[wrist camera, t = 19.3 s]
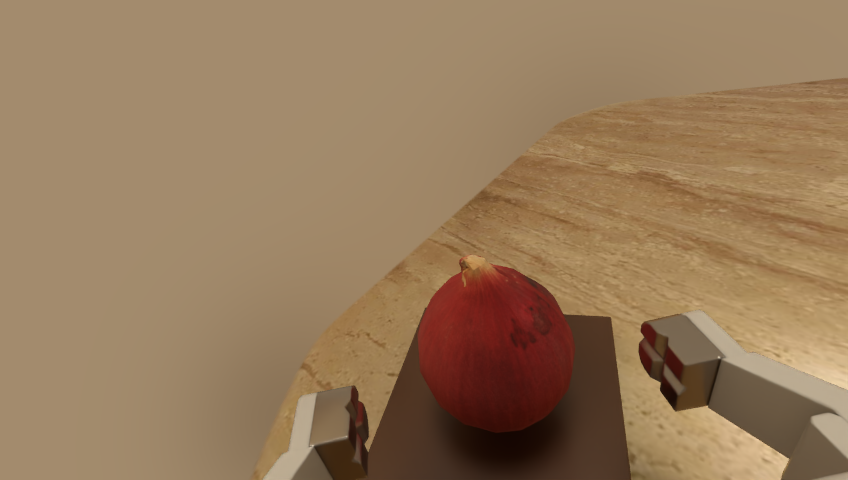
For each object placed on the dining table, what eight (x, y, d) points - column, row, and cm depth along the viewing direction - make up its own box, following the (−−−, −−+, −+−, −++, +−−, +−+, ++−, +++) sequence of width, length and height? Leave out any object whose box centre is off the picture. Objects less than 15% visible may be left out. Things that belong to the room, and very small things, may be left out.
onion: (547, 344, 20) (540, 200, 16) (598, 460, 15) (608, 295, 11) (431, 366, 20) (393, 230, 16) (443, 487, 15) (393, 336, 11)
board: (343, 551, 15) (333, 536, 14) (428, 321, 25) (425, 306, 24) (645, 637, 12) (649, 623, 11) (609, 332, 21) (610, 316, 21)
